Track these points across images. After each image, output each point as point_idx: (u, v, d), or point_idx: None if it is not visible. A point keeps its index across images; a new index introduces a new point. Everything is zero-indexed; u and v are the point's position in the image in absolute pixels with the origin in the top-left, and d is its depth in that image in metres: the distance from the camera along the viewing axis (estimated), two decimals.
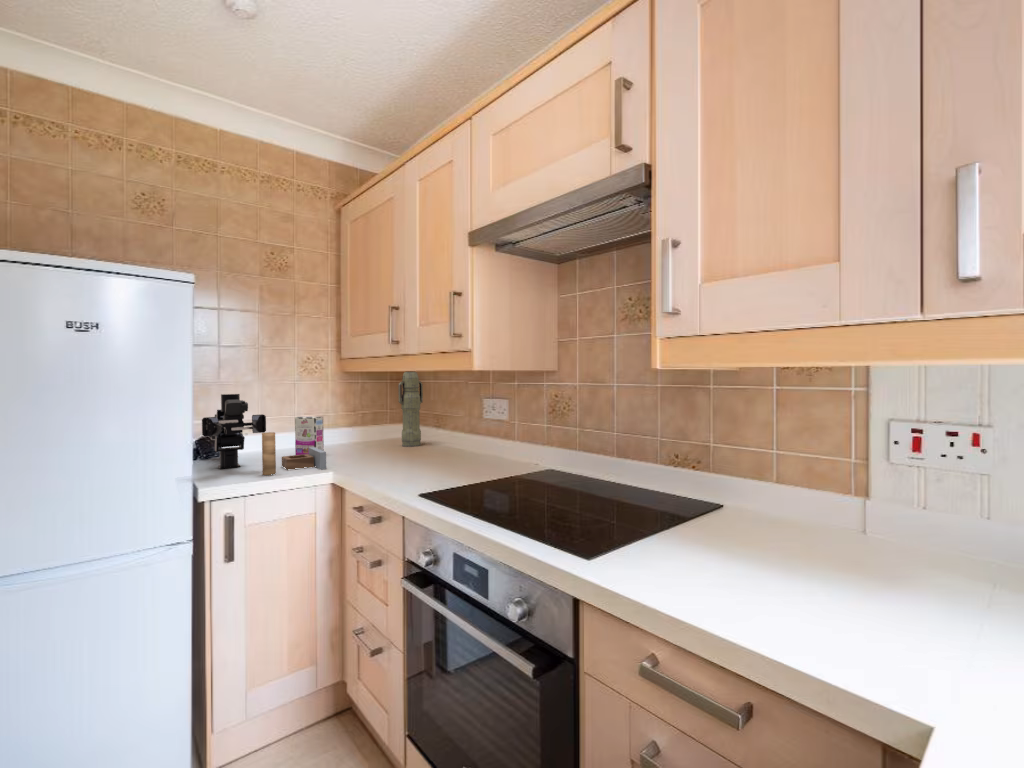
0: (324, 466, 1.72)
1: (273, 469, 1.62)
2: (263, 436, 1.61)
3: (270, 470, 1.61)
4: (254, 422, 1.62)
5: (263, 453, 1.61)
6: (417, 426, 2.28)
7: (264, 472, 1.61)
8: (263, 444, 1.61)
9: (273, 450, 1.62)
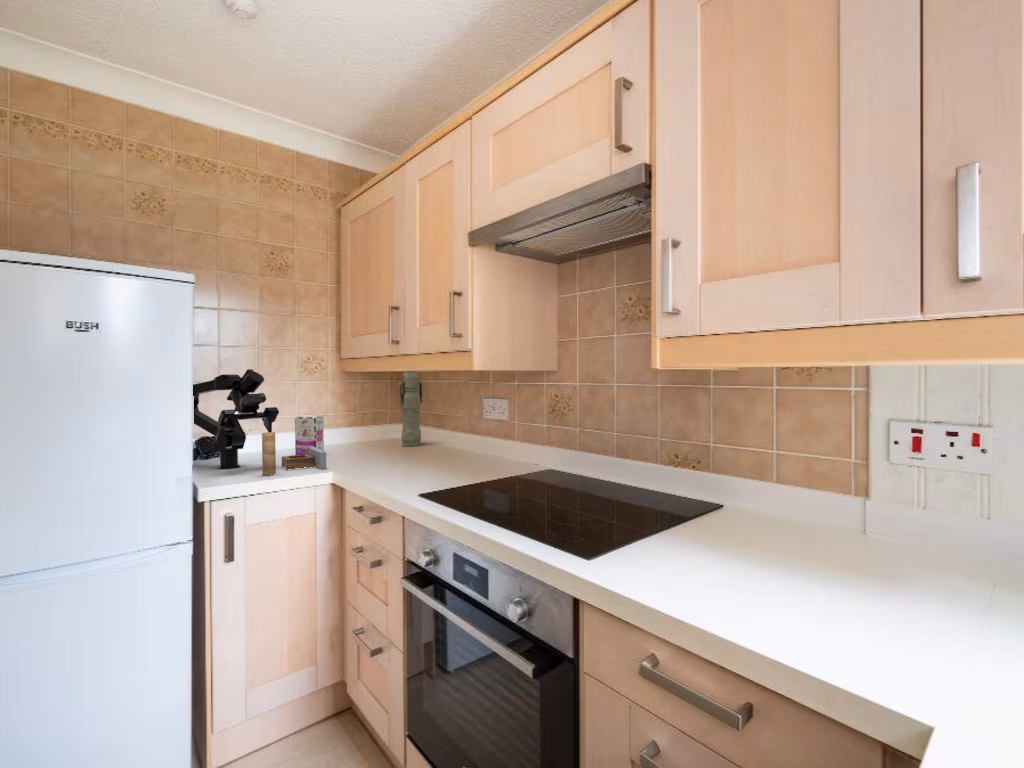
0: (324, 466, 1.72)
1: (273, 469, 1.62)
2: (263, 436, 1.61)
3: (270, 470, 1.61)
4: (270, 425, 1.72)
5: (263, 453, 1.61)
6: (417, 426, 2.28)
7: (264, 472, 1.61)
8: (263, 444, 1.61)
9: (273, 450, 1.62)
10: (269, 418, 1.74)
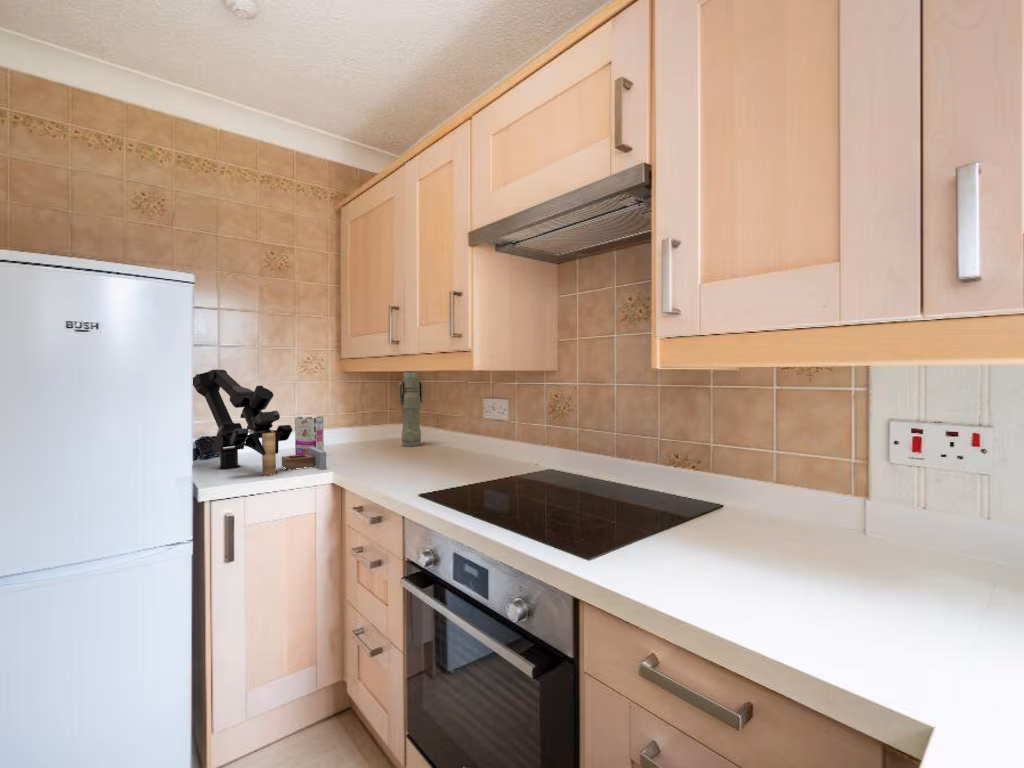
0: (324, 466, 1.72)
1: (273, 469, 1.62)
2: (263, 436, 1.61)
3: (270, 470, 1.61)
4: (277, 445, 1.65)
5: None
6: (417, 426, 2.28)
7: (264, 472, 1.61)
8: (263, 444, 1.61)
9: (273, 450, 1.62)
10: (275, 437, 1.66)
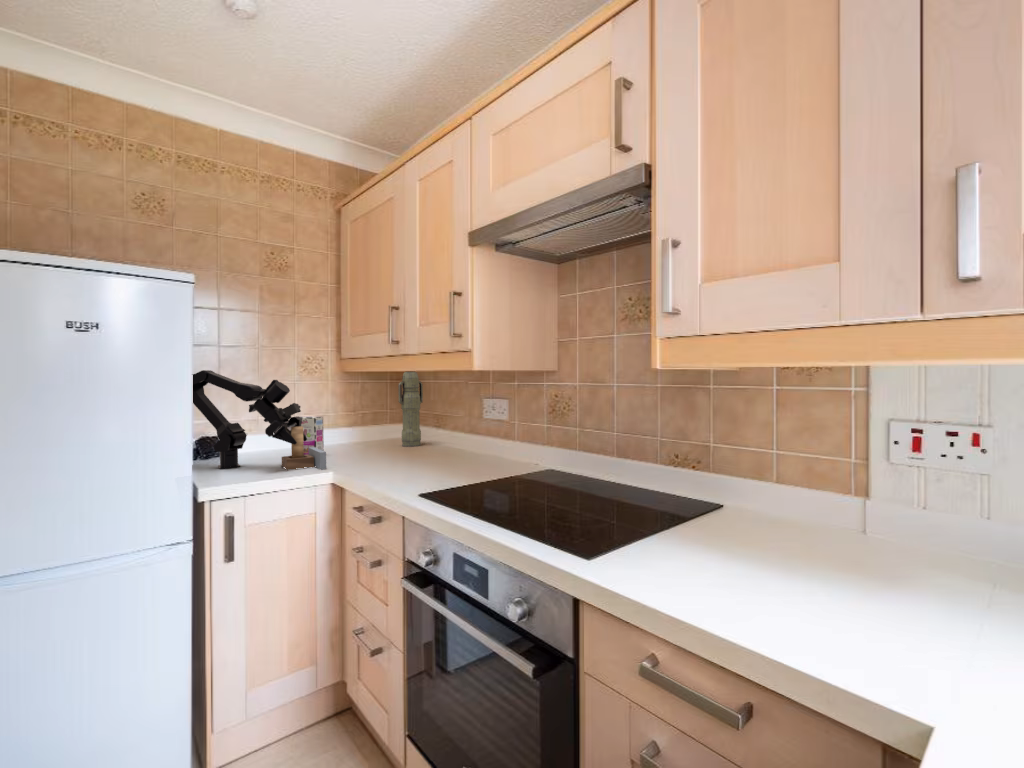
0: (324, 466, 1.72)
1: None
2: (296, 430, 1.75)
3: None
4: (303, 433, 1.82)
5: (296, 445, 1.75)
6: (417, 426, 2.28)
7: None
8: (296, 437, 1.75)
9: None
10: None
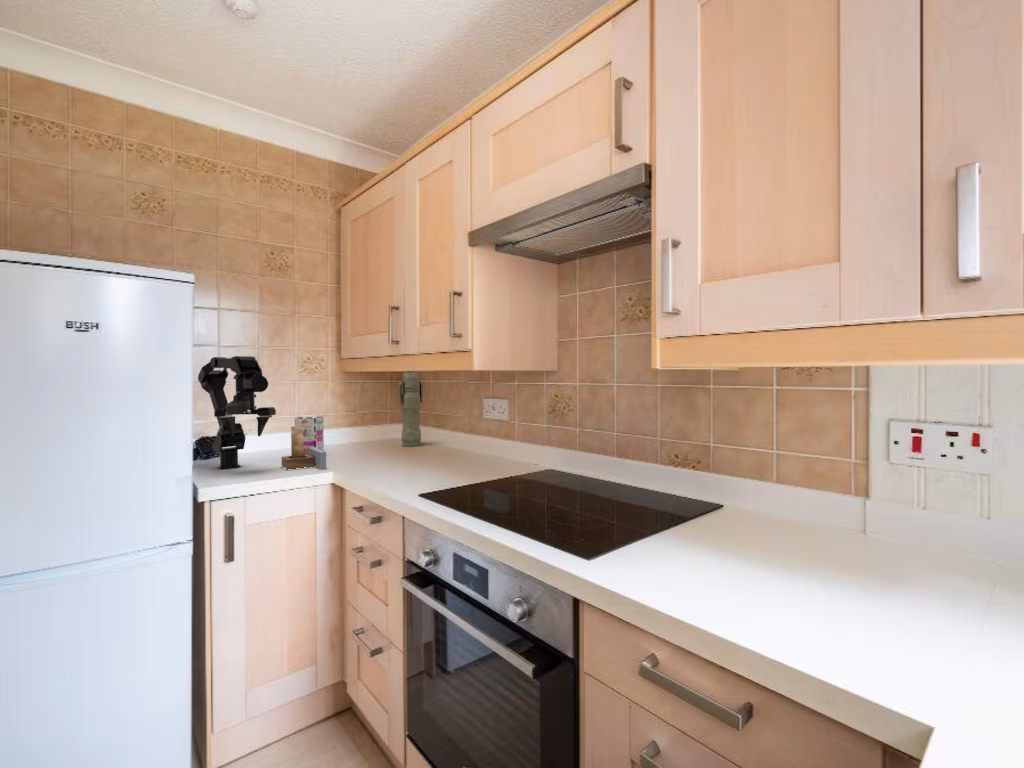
0: (324, 466, 1.72)
1: None
2: (296, 429, 1.75)
3: None
4: (259, 429, 1.70)
5: (295, 445, 1.75)
6: (417, 426, 2.28)
7: None
8: (296, 437, 1.75)
9: None
10: (259, 421, 1.69)
